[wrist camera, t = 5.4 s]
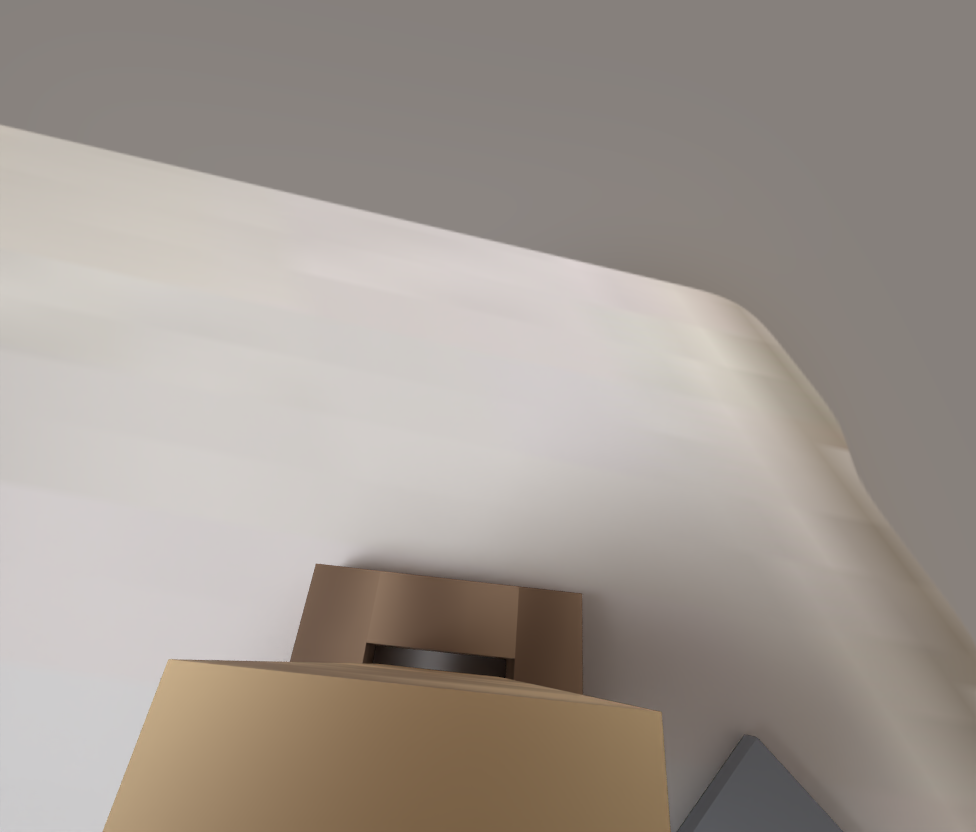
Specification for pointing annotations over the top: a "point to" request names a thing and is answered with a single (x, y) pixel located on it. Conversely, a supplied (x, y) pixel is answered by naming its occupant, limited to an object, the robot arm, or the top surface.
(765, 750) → the slate mat
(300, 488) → the top surface
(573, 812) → the oak peg
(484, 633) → the walnut socket block
